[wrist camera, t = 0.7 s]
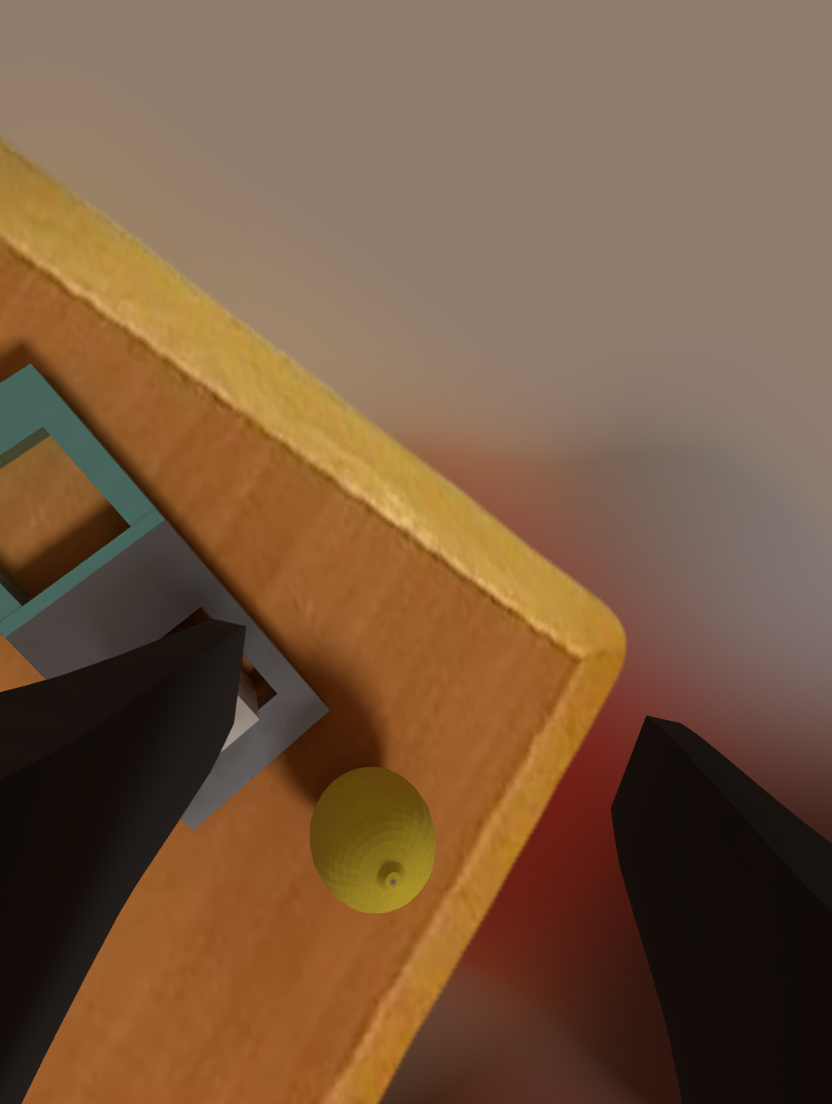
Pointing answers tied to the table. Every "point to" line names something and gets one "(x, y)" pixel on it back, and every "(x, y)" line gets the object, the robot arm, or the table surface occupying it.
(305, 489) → the table surface
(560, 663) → the table surface
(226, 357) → the table surface
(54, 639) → the teal silver rectangular frame
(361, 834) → the lemon
